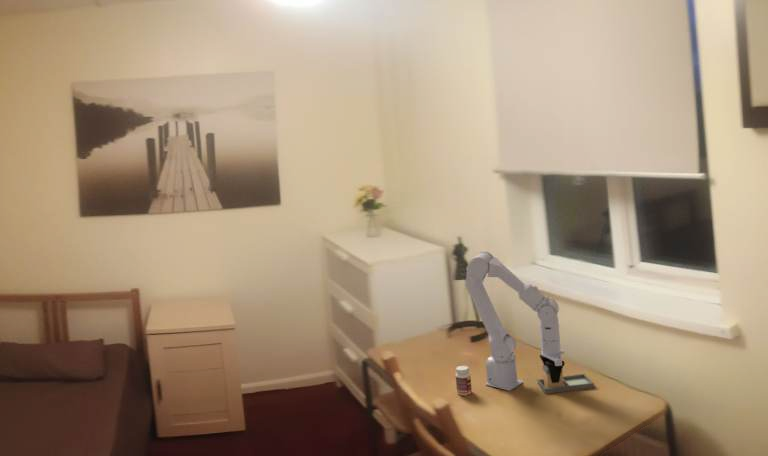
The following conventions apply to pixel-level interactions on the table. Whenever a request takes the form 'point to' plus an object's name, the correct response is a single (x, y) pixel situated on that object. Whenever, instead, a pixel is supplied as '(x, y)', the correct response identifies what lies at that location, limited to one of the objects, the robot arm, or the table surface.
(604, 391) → the table surface
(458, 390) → the pill bottle
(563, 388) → the gray divided rectangular frame
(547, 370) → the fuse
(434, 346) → the table surface
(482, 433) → the table surface
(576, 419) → the table surface
